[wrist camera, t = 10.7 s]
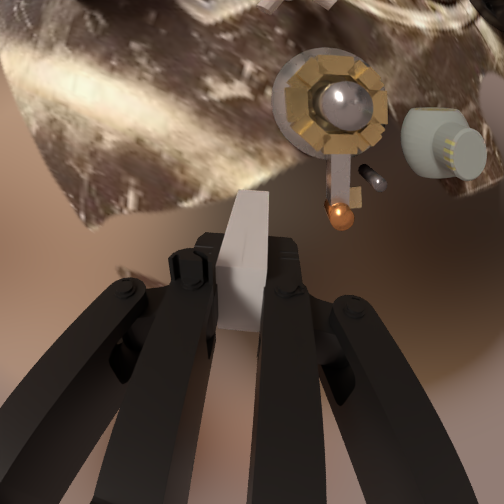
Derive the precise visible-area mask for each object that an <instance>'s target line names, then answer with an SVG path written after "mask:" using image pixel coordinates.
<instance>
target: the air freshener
mask: <svg viewBox="0 0 504 504" xmlns="http://www.w3.org/2000/svg"><path fill="white" fill-rule="evenodd" d="M401 146H402V150H403V154H404V156H405V159H406V161H407V163H408V164H409V166H410V167H411V169H412V170H413V171H414V172H415V173H416V174H417V175H419V176H421V177H426V178H450V177H455V176H456V177H458V178H460V179H461V180H464V181H471V180H474V179H475V178H477V177H478V176H479V175H480V174H481V172H482V171H483V169H484V167H485V164H486V159H487V151H486V145H485V143H484V139H483V138H482V136H481V135H480V133H478V132H477V131H476V130H474V129H471V128H469V126H468V123H467V121H466V119H465V118H464V116H463V115H462V114H461V112H460V111H459V110H456V109H450V108H433V107H426V108H412V109H410V111H409V112H408V113H407V115H406V117H405V119H404V122H403V125H402V129H401Z"/></svg>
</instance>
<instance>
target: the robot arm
mask: <svg viewBox="0 0 504 504" xmlns="http://www.w3.org/2000/svg"><path fill="white" fill-rule="evenodd" d="M470 1H471V2H472V4H473V5H474V6H475V8H476V9H477V10H478V11H479V12H480V14H481V15H482V16H483V17H484V18H485V19H486V20H487V21H488V22H489V23H491V24H492V25H493V26H494V27H496V28H497V29H499V30H501V31H503V32H504V0H470ZM268 207H269V192H267V191H254V190H238V193H237V197H236V200H235V203H234V206H233V209H232V213H231V216H230V219H229V222H228V226H227V229H226V232H225V234H223V233H209V232H205V233H204V234H203V235H202V236H200V237H199V238H198V239H197V242H196V244H195V247H194V248H186V249H182V250H178V251H176V252H175V253H173V254H172V255H171V256H170V257H169V258H168V261H169V268H170V275H171V282H170V285H167V286H164V287H159V288H150V289H146V286H145V284H144V283H143V281H141V280H139V279H137V278H131V277H130V278H122V279H120V280H117V281H115V282H114V283H112V284H111V285H110V286H109V287H108V288H107V289H106V290H104V291H103V292H102V293H101V294H100V295H99V296H98V297H97V298H96V299H95V300H94V301H93V302H92V303H91V305H89V306H88V307H87V309H85V310H84V311H83V313H82V314H81V315H80V316H79V317H78V318H77V319H76V320H75V321H74V322H73V323H72V324H71V325H70V326H69V327H68V328H67V330H65V331H64V333H63V334H62V335H61V336H60V337H59V338H58V339H57V340H56V341H55V342H54V343H53V345H52V346H51V347H50V348H49V349H48V350H47V351H46V352H45V354H44V355H43V356H42V357H41V358H40V359H39V361H38V362H37V363H36V364H35V365H34V366H33V367H32V369H31V370H30V371H29V372H28V374H27V375H26V376H25V377H24V378H23V380H22V381H21V382H20V383H19V385H18V386H17V387H16V388H15V390H14V391H13V392H12V393H11V395H10V396H9V397H8V398H7V400H6V401H5V402H4V404H3V405H2V407H1V408H0V504H59V503H60V501H61V499H62V498H63V496H64V494H65V493H66V491H67V490H68V488H69V486H70V485H71V483H72V481H73V480H74V478H75V477H76V475H77V473H78V472H79V470H80V469H81V467H82V465H83V464H84V462H85V461H86V459H87V458H88V456H89V454H90V453H91V451H92V450H93V448H94V447H95V445H96V444H97V442H98V440H99V439H100V437H101V435H102V434H103V433H104V431H105V430H106V428H107V427H108V425H109V424H110V422H111V420H112V419H113V417H114V416H115V414H116V413H117V411H118V410H119V412H118V415H117V418H116V422H115V424H114V427H113V430H112V433H111V437H110V440H109V443H108V446H107V449H106V453H105V456H104V460H103V463H102V466H101V470H100V473H99V477H98V481H97V485H96V488H95V492H94V496H93V499H92V501H91V502H90V504H187V502H188V496H189V489H190V483H191V477H192V471H193V464H194V459H195V453H196V447H197V441H198V435H199V430H200V424H201V418H202V412H203V407H204V402H205V396H206V390H207V385H208V380H209V375H210V369H211V364H212V359H213V353H214V348H215V343H216V334H215V331H216V326H217V321H218V328H220V329H230V330H240V331H252V332H260V334H259V344H258V352H257V357H258V358H257V373H256V387H255V402H254V417H253V430H252V443H251V455H250V456H251V457H250V468H249V480H248V492H247V503H246V504H327V503H326V502H327V500H326V469H325V468H326V467H325V449H324V448H325V447H324V433H323V418H322V405H321V395H320V384H319V378H320V381H321V383H322V386H323V388H324V391H325V393H326V396H327V399H328V401H329V404H330V406H331V409H332V412H333V414H334V417H335V420H336V422H337V425H338V427H339V430H340V433H341V436H342V438H343V441H344V443H345V446H346V449H347V451H348V454H349V457H350V460H351V462H352V465H353V468H354V470H355V473H356V475H357V479H358V481H359V484H360V487H361V490H362V492H363V495H364V498H365V501H366V504H478V501H477V498H476V496H475V493H474V491H473V488H472V486H471V483H470V481H469V479H468V476H467V474H466V472H465V470H464V467H463V465H462V463H461V461H460V459H459V456H458V454H457V452H456V450H455V448H454V446H453V444H452V442H451V440H450V438H449V436H448V434H447V432H446V430H445V428H444V426H443V424H442V422H441V420H440V418H439V416H438V414H437V413H436V411H435V409H434V407H433V405H432V403H431V402H430V400H429V398H428V396H427V394H426V392H425V391H424V389H423V387H422V385H421V384H420V382H419V380H418V379H417V377H416V375H415V374H414V372H413V370H412V368H411V367H410V365H409V364H408V362H407V360H406V358H405V357H404V355H403V353H402V352H401V350H400V349H399V347H398V346H397V344H396V342H395V341H394V339H393V337H392V336H391V335H390V333H389V331H388V330H387V328H386V327H385V325H384V324H383V322H382V321H381V319H380V317H379V316H378V314H377V313H376V311H375V310H374V308H373V307H372V306H371V305H370V304H369V303H368V302H367V301H366V300H364V299H362V298H361V297H357V296H354V295H344V296H340V297H338V298H337V299H336V300H335V301H334V303H329V302H326V301H322V300H320V299H317V298H315V297H313V296H312V295H310V294H309V293H308V290H307V288H306V286H305V285H304V284H303V283H302V276H301V268H300V261H299V255H298V248H297V244H296V243H295V242H294V241H293V240H292V238H285V237H273V236H268V209H269V208H268ZM119 408H120V409H119Z"/></svg>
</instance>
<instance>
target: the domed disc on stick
mask: <svg viewBox="0 0 504 504" xmlns="http://www.w3.org/2000/svg"><path fill="white" fill-rule="evenodd" d="M322 76H335V77H344V78H345V79H346V80H347V81H349V82H354V83H357V84H359V85H361V86H362V87H363V88H364V89H365V90H366V91H367V92H368V93H369V95H370V96H371V99H372V102H373V115H372V117H371V119H370V121H369V122H368V124H367V125H365V126H364V127H363V128H361V129H359V130H354V131H324V130H323V129H322V128H321V127H320V126H319V125H318V124H317V123H315V122H314V121H313V120H312V119H311V118H310V117H309V108H308V94H307V91H308V90H309V89H310V88H311V87H312V86H313V85H314V84H315V83H316V82H317V81H318V80H319V79H320V78H321V77H322ZM380 79H381V77H380V76H379V75H378V74H377V73H376V72H375V71H374V70H373V69H372V68H371V67H367V66H366V65H365V64H364V63H363V62H362V61H361V60H357V61H354V57H351V56H337V55H317V56H316V57H314V59H313V58H312V57H311V58H310V59H309V60H308V61H307V62H306V63H305V64H304V65H303V66H302V67H301V68H300V69H299V70H298V71H297V72H296V73H295V74H294V75H293V76H292V77H291V78H290V79H289V80H288V81H287V82H286V83H287V84H288V85H289V86H290V87H285V88H284V96H285V107H286V120H287V121H288V122H292V123H291V124H290V125H289V126H290V127H291V128H292V129H293V130H294V131H295V132H296V133H297V134H299V135H300V136H301V137H302V138H303V139H304V140H305V141H306V142H308V143H309V144H310V145H311V146H312V147H313V148H314V149H315V150H316V151H317V152H318V151H319V150H321V152H322V153H323V154H326V163H327V164H326V165H327V166H326V170H327V171H326V172H327V191H326V193H327V194H326V200H325V202H324V208H325V210H326V213H327V215H328V217H329V219H330V222H331V224H332V226H333V227H334V228H335V229H336V230H340V231H343V230H347V229H349V228H350V227H351V226H352V225H353V223H354V214H353V212H352V211H351V209H350V207H349V196H350V162H351V154H357V150H358V149H359V150H361V151H362V152H364V151H365V150H366V149H367V148H368V147H369V146H372V147H373V146H374V145H375V144H376V143H377V142H378V141H379V140H380V139H381V138H382V136H381V133H383V132H384V131H385V129H384V127H383V126H382V125H381V124H387V123H388V108H387V91H382V90H380V89H381V88H382V87H383V86H384V84H383V83H382V82H381V81H380Z"/></svg>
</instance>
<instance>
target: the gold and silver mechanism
mask: <svg viewBox="0 0 504 504" xmlns="http://www.w3.org/2000/svg"><path fill="white" fill-rule="evenodd" d="M317 55H337V56H351V57H354V61H357V60H361V61H362V62H363V63H364V64H365V65H366V66H367V67H370V66H369V65H368V64H367V63H366V62H365V61H363V60H362V59H361V58H359V57H357V56H356V55H354V54H352V53H349V52H347V51H344V50H340V49H336V48H315V49H311V50H307V51H305V52H302V53H300V54H298V55H296V56H295V57H293V58H292V59H291V60H289V61H288V62H287V63H286V64H285V65H284V66H283V68H282V69H281V70H280V72H279V74H278V75H277V77H276V80H275V82H274V85H273V89H272V110H273V114H274V118H275V120H276V123H277V125H278V127H279V128H280V130H281V132H282V133H283V135H284V136H285V137H286V138H287V139H288V140H289V141H290V142H291V143H292V144H293V145H294V146H295V147H296V148H298V149H299V150H301V151H302V152H304V153H306V154H308V155H310V156H313V157H316V158H320V159H325V160H326V154H323V153H322V152H321V150H319V151H318V152H317V151H316V150H315V149H314V148H313V147H312V146H311V145H310V144H309V143H308V142H306V141H305V140H304V139H303V138H302V137H301V136H300V135H299V134H297V133H296V132H295V131H294V130H293V129H292V128H291V127H290V126H289V125H290V124H291V123H292V122H288V121H287V120H286V107H285V96H284V88H285V87H290V86H289V85H288V84H287V83H286V82H287V81H288V80H289V79H290V78H291V77H292V76H293V75H294V74H295V73H296V72H297V71H298V70H299V69H300V68H301V67H302V66H303V65H304V64H305V63H306V62H307V61H308V60H309V59H310V58H311V57H312V58H313V59H314V57H316V56H317ZM380 81H381V80H380ZM380 90H382V91H385V89H384V86H383V87H382V88H381V89H380ZM307 94H308V108H309V117H310V118H311V119H312V120H313V121H314V122H315V123H317V124H318V125H319V126H320V127H321V128H322V129H323V130H324V131H354V130H359V129H361V128H363V127H364V126H365V125H367V124H368V122H369V121H370V119H371V117H372V115H373V102H372V99H371V96H370V95H369V93H368V92H367V91H366V90H365V89H364V88H363V87H362V86H361V85H359V84H357V83H354V82H349V81H347V80H346V79H345V78H344V77H335V76H322V77H321V78H320V79H319V80H318V81H317V82H316V83H315V84H314V85H313V86H312V87H311V88H310V89H309V90H308V91H307ZM387 108H388V102H387ZM381 125H382V126H383V127H384V126H385V124H381ZM370 147H371V146H369V147H368V148H370ZM368 148H367V149H368ZM367 149H366V150H367ZM366 150H365V151H366ZM361 153H362V151H361V150H359V149H358V150H357V154H351V157H354V156H357V155H359V154H361ZM358 171H359V174H360V175H361V176H362V177H363V178H364V179H366V181H367V182H368V183H369V184H370V185H371V186H372V187H373V188H374V189H375V190H376V191H378V192H382V191H384V190H385V189H386V187H387V182H386V180H385V179H384V178H382V177H381V176H380V175H379V174H378V173H376V172H375V171H374V170H373V169H372V168H370V167H369V166H368V165H366V164H362V165H360V167H359V170H358ZM349 207H350V209H353V208H361V207H362V198H361V186H355V187H350V196H349Z"/></svg>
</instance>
